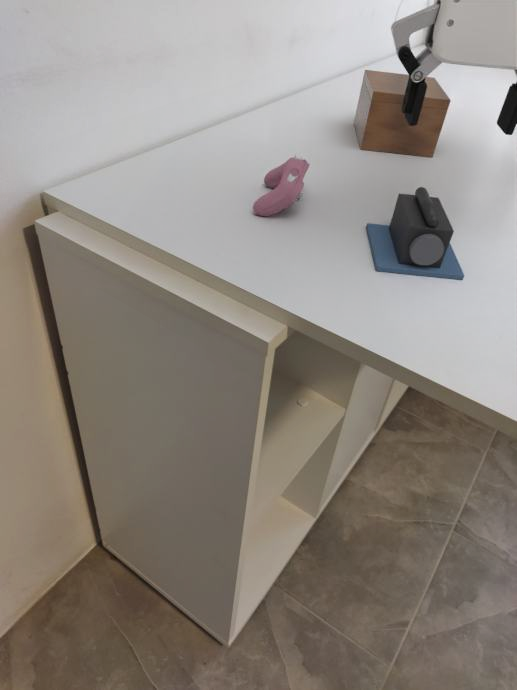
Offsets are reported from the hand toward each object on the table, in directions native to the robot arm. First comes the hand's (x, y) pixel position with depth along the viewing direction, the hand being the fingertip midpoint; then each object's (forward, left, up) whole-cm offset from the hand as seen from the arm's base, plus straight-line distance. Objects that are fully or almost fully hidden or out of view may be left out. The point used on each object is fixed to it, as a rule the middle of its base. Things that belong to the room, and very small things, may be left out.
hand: (457, 125), depth 54 cm
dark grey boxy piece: (0, 0, -14) cm, 14 cm away
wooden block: (-3, -37, -15) cm, 40 cm away
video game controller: (+16, -9, -15) cm, 24 cm away
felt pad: (0, 0, -15) cm, 15 cm away
